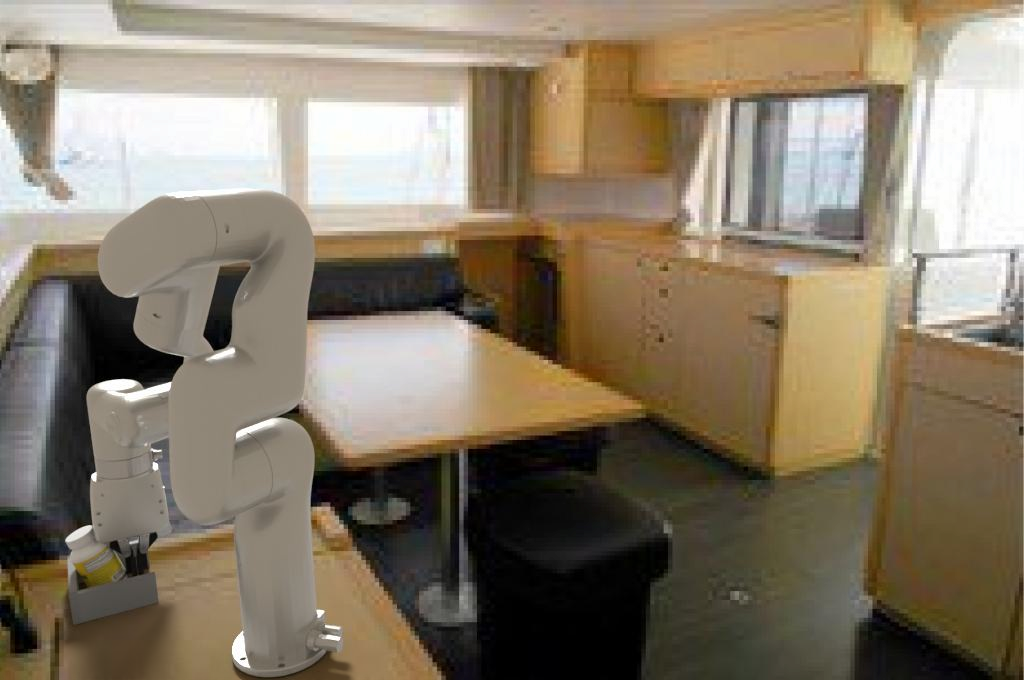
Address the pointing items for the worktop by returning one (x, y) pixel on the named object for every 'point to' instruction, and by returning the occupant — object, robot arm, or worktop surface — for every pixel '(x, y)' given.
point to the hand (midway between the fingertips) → (138, 574)
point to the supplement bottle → (94, 558)
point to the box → (110, 593)
